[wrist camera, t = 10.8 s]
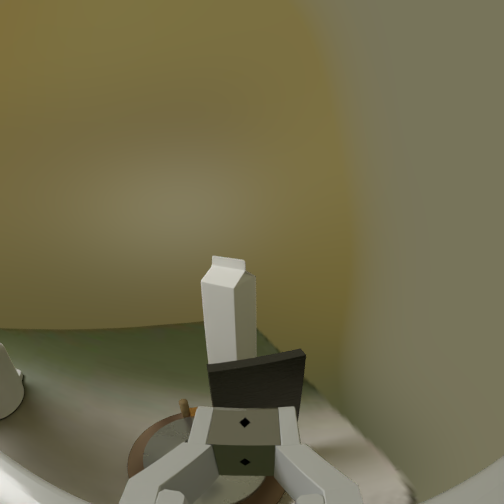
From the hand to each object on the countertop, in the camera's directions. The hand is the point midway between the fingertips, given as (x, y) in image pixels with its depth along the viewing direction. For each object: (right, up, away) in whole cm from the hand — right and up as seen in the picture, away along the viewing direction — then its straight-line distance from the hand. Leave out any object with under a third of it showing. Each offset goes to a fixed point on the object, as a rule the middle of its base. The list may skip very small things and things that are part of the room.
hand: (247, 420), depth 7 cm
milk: (-3, -17, +37) cm, 41 cm away
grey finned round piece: (-4, -19, +19) cm, 27 cm away
